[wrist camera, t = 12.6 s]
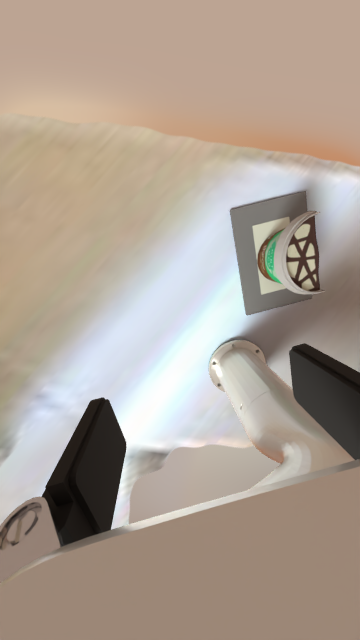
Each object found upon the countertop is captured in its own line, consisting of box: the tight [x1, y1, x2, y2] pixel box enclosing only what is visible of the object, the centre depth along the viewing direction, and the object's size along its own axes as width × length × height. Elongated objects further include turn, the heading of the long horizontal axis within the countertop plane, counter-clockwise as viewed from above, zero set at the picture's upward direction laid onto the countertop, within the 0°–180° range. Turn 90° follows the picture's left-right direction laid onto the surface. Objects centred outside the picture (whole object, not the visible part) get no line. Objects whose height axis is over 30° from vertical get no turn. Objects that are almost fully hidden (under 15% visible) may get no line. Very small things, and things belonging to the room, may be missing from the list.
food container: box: [257, 211, 325, 295], centre depth 33 cm, size 12×6×10 cm, turn 15°
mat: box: [230, 191, 312, 315], centre depth 38 cm, size 20×14×1 cm
